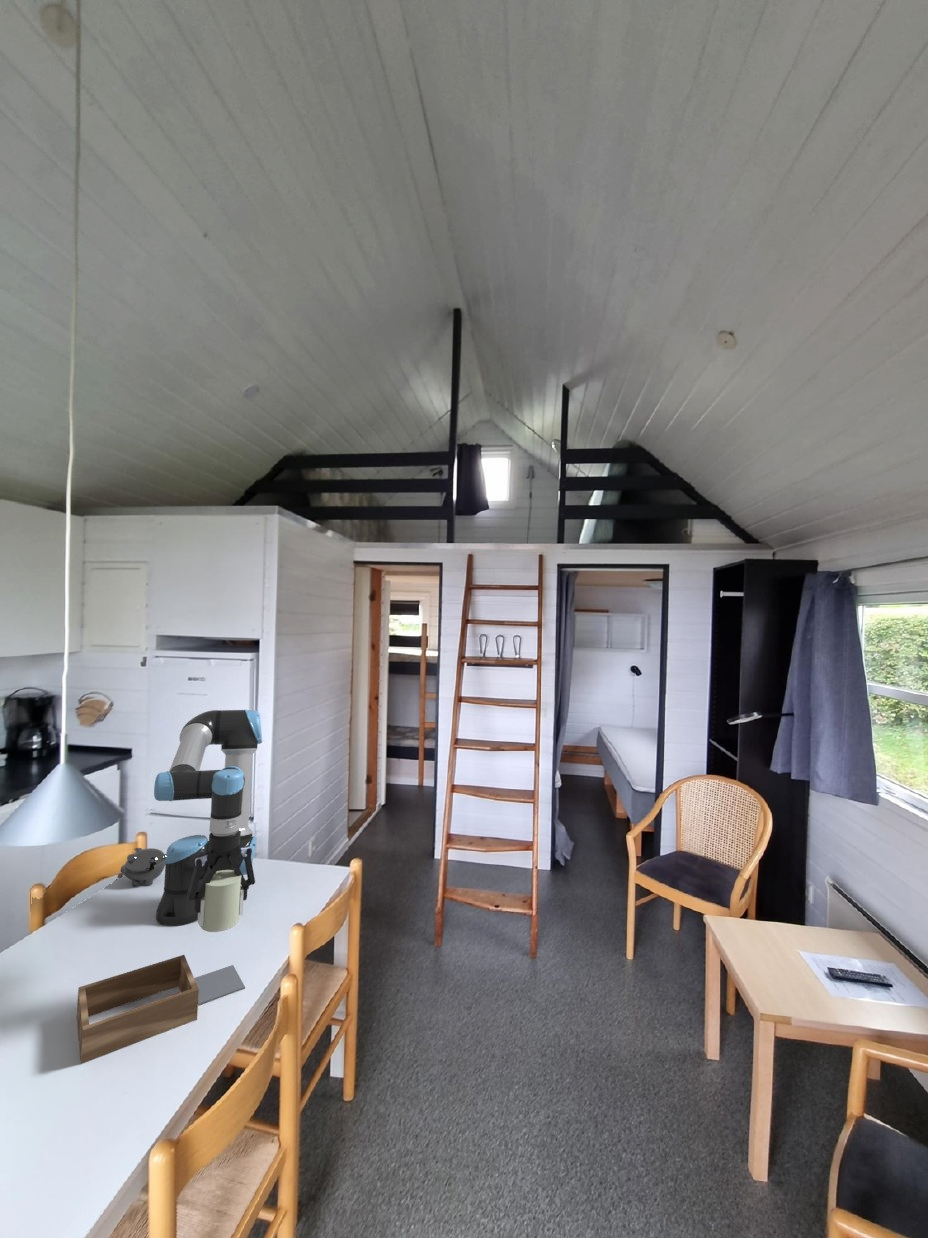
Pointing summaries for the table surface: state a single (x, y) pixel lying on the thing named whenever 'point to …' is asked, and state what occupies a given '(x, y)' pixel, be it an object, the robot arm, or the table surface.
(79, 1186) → the table surface
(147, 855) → the piggy bank
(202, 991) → the mat
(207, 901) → the can
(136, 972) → the crate
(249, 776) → the robot arm
